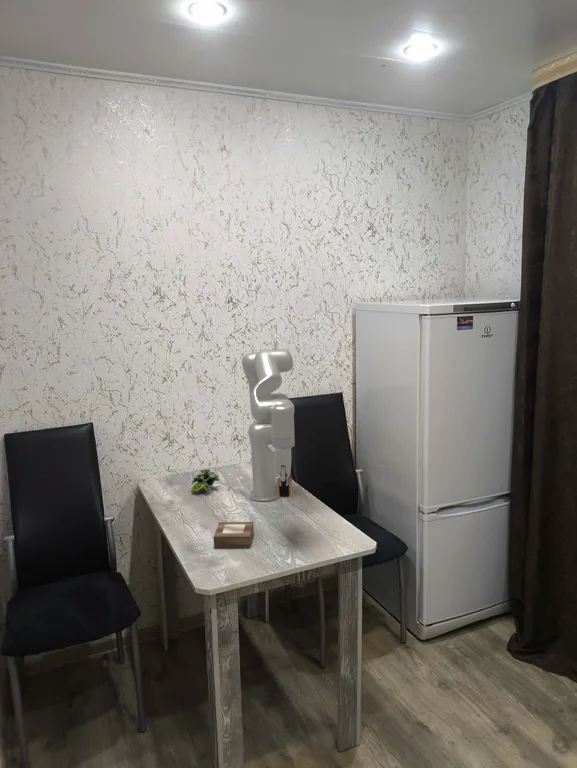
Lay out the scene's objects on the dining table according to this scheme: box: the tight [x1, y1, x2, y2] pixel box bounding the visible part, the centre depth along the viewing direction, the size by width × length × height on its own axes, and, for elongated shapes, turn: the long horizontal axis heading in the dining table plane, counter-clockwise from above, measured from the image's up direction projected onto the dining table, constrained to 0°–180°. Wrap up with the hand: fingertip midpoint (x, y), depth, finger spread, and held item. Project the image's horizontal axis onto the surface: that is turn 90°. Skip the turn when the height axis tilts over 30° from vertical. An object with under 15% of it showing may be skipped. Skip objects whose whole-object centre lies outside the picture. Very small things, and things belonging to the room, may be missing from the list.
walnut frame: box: [212, 521, 255, 549], centre depth 191 cm, size 12×12×4 cm
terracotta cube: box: [276, 477, 293, 498], centre depth 189 cm, size 5×5×5 cm
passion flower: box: [190, 468, 220, 495], centre depth 239 cm, size 11×11×12 cm
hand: (284, 492), depth 189 cm, fingers closed on terracotta cube, 4 cm apart
